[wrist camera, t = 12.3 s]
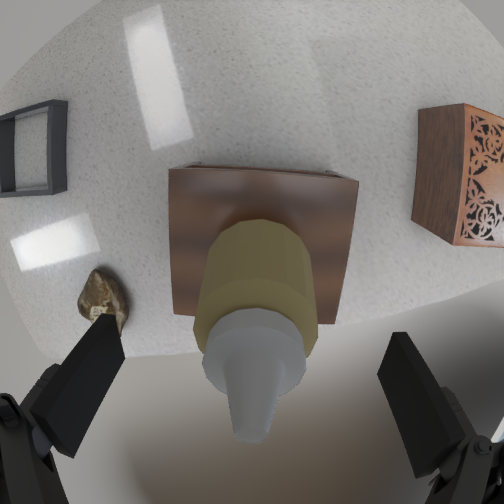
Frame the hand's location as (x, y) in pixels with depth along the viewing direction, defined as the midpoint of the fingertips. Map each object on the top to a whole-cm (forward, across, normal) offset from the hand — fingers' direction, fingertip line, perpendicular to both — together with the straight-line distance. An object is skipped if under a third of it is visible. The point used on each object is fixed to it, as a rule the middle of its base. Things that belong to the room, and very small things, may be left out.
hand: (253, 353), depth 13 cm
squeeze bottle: (+14, 0, 0) cm, 14 cm away
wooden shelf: (+24, 0, 0) cm, 24 cm away
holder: (+24, -33, +10) cm, 42 cm away
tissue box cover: (+24, +32, +10) cm, 41 cm away
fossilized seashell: (+24, -21, -12) cm, 34 cm away
